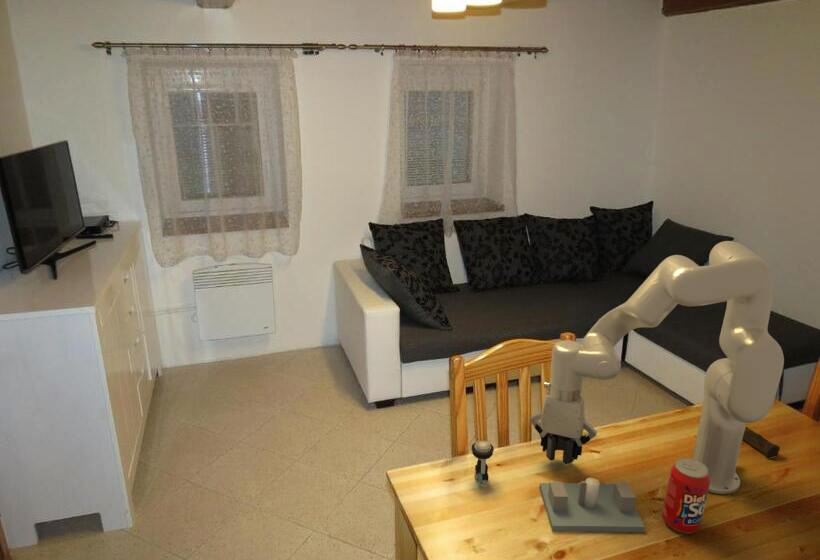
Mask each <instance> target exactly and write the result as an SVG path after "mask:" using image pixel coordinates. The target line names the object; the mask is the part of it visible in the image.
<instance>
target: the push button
mask: <svg viewBox="0 0 820 560" xmlns="http://www.w3.org/2000/svg"><path fill="white" fill-rule="evenodd" d="M470 449H471V451H472V455H473V456H474V457H475V458H477V461H476V464H475V467H474V470H475V471H474V480H475V481H476V480H478V484H479V486H480V485H481V486H482V488H483V489H487V488H488V486H487V485H488V483H487V482H488V481H489V478H490V477H489V473H488V471H489V466H488V465H487V459H490V458H491V457H492V456H493V454H494V451H495V449H494V446H493V445H492V444H491V443H490V442H489V441H487V440H483V439H481V440H480V439H479V440H476V441H475V442H474V443H473V444H471V448H470Z"/></svg>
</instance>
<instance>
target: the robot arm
mask: <svg viewBox="0 0 820 560" xmlns="http://www.w3.org/2000/svg"><path fill="white" fill-rule="evenodd" d="M771 279H772V270H771V268H770V265H769V264H768V263H767V262H766V261H765V259H763V258H762V257H760V256H759V255H757V254H756V253H754V252H753V251H752V250H750V248H748V247H746V246H745V245H743V244H741V243H739V242H737V241H731V240H725V241H721V242H718V243H717V244H715V245H714V246H713V247H712V249H711V250H710V252H709V257H708V265H703V266H702V265H699V264H697V263H696V262H694V260H692V259H690V258H689V257H687V256H684V255H681V254H674V255H670V256H668V257H666V258H665V259H663V260H662V261H661V262H660V263H659V264H658V266H657V267H655V269H654V270H653V271H652V272H651V273H650V274H649V276H647V278H646V279H645V280H644V281H643V283H642V284H641V285H640V286H639V287H638V288H637V289H636V290H635V292H634V293H633V294H632V295H631V296H630V297H629V298H628V299H627V301H625V302H624V303H622V304H620V305H618V306H617V307H614V308H613V309H611V310H609V311H607V312H606V313H605V314H604V315H603V316H601V317H600V318H599V319H598V320H597V322H596V323H595V324H594V325H593V326H592V327H591V328H590V330H589V331H588V332H587V333H586V335H584V337H583V339H582V341H581V343H579V342H578V341H574V340H570V339H569V340H568V339H567V340H563V339H562V340H559V341H557V342H554V344H553V346H552V350H551V361H550V362H551V363H550V376H549V377H550V378H549V382H548V381H547V382H546V381H544V383H543V388H545V389H547V392H546V393H545V395H544V400H543V404H542V408H541V409H542V410H541V411H540V412H538V413H536V414H534V415H532V416H531V417H530V418H529V421H530V423H531V425H532V426H533V427H534V429H535V431H537V433H538V434H539V437H540V446H541V447H542V451H541V452H543V453H544V452H545V453H546V448H547V433H552V434H556V435H560V436H564V437H569V438H573V439H575V440H576V442H577V443H576V445H575V453H574V459H575V460H578V458H579V456H582V453H583V445H585V444H586V443H588V442H590V441H591V440H593V438H595V437H596V436H597V433H598V432H597V430H596V429H595V428H594V427H593V426H592V425H591V424H590V423H589V422H588V421H586V406H585V399H584V398H585V397H584V395H583V394H582V392H583V391H582V390H583V382H584V381H583V380H584V378H587V379H593V380H597V381H611V380H614V379H615V378H617V377H618V376H619V375H620V373H621V369H622V365H621V360H620V358H619V356H618V354H617V351H616V350H615V347H616V345H617V344H619V342H620V341H621V340H622V339H623V338H624V337H625V336H626V335H627V334H628V333H630V332H631V331H633V330H635V329H640V328H650V329H651V328H653V329H654V328H656V327H658V326H659V325H660V324H661V323H662V322H663V321H664V319H665V318H667V316H668V315H669V314H670V313H671V312H672V311H673V310H674V309H675V307H676V306H677V305H678V304H679V305H681V306H685V307H698V306H699V307H700V306H707V305H713V304H718V303H725V302H726V309H725V313H724V317H723V321H722V322H723V323H722V326H721V330H720V334H719V340H718V342H719V347H720V349H721V350H722V352H723V353H724V355H725V356H726V357H725V358H720V359H717V360H715V361H714V362H712V363H711V364H710V365H709V367H708V368H707V370H706V372H705V376H704V382H703V384H704V385H703V401H702V402H703V403H702V409H701V412H700V413H701V415H700V419H699V424H698V429H697V435H696V437H695V438H696V440H695V443H694V447H693V448H694V449H693V454H692V458H691V459H694V460H696V461H699V462H701V463H702V464H704V465H705V466H706V467H707V469H708V474H709V475H710V485H709V490H708V493H714V494H719V495H727V494H728V495H729V494H732V493H735V492H737V491H738V490H739V489H740V486H741V479H740V477H739V475H738V474H737V472H736V470H737V465H738V461H739V456H740V452H741V448H742V444H743V435H744V431H745V427H747V424H754V423H757V422H759V421H762V420H763V419H764V418H765V417H767V416H768V414H769V413H770V411H771V410H772V407H773V406H774V402H775V400H776V395H777V391H778V388H779V385H780V382H781V378H782V374H783V370H784V365H785V357H784V353H783V350H782V347H781V345H780V344H779V343H778V342H777V340H775V338H773V336H771V335H770V334H769V331H768V329H769V328H768V326H769V321H770V316H771V315H770V314H771V311H772V303H773V287H772V283H771ZM584 430H585V431H586V432H587V433H586V434H584V435H583V433H584Z"/></svg>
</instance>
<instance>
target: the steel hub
mask: <svg viewBox="0 0 820 560" xmlns="http://www.w3.org/2000/svg"><path fill="white" fill-rule="evenodd" d="M576 443H577V442H576V440H575V439H573V438H569V437H564V436H560V435H556V434H552V433H547V448H546V451H545V455H546V458H547V459H548V460H549V461H555V458H556V451H563V452H562V463H563V464H564V465H566V466H567V465H569V464H572V463H573V462H575V460H576V459H574V453H575V445H576Z"/></svg>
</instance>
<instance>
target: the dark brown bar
mask: <svg viewBox="0 0 820 560" xmlns="http://www.w3.org/2000/svg"><path fill="white" fill-rule="evenodd" d="M743 440H744V441H745V442H746V443H747V444H749V445H751V447H753V448H755V449H756V450H758V451H759V452H760V453H761V452H762V454H763V455H765V458H766V459H767V458H770V457H774V456H776V457H777V456H778V454H779V451H780V450H781V447H780V446H779V445H778V444H775V443H773V442H771V441H769V440H767V438H764V437H763V436H762V435H761V434H759V433H757V432H756V431H753V430H752V429H750V428H749V427H747V426H746V427H745V431H744V435H743ZM743 440H742V441H743ZM774 458H775V457H774ZM770 459H771V458H770Z"/></svg>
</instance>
